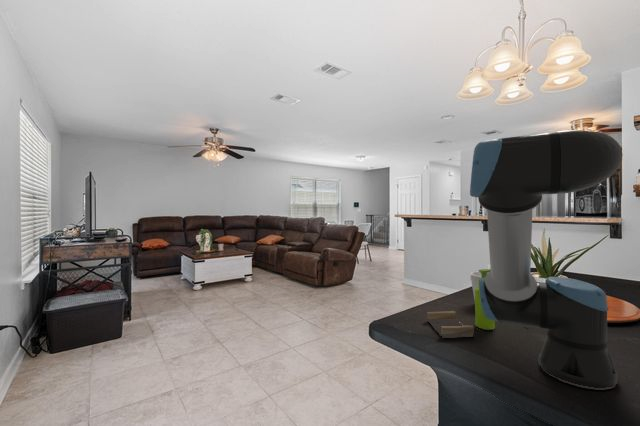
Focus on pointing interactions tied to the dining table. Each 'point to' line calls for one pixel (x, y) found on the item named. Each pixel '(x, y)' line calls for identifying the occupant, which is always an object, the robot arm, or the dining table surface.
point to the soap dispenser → (479, 315)
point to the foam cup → (475, 280)
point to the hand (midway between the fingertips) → (511, 256)
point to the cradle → (450, 329)
